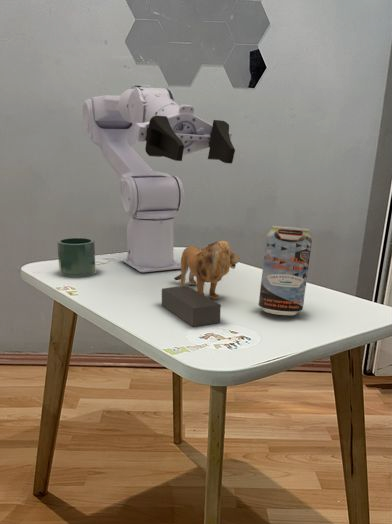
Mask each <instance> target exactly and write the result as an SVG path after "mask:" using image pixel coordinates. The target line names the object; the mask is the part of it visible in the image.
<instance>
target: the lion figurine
mask: <svg viewBox="0 0 392 524" xmlns="http://www.w3.org/2000/svg"><path fill="white" fill-rule="evenodd" d="M240 258H241V257H240V256H239V255H237V254H236V253H234V251H233V249H231V247H230V242H229V241H226V240H217V241H214V242H212V243H209V244H207V246H204V247H202V248H201V249H200V248H198V247H197V246H193V245H189V246H187V247H185V248H184V249H183V251H182V253H181V257H180V265H181V269H180V270H181V271H180V274H179V275H177V276H175V277H174V278H173V280H175V281H179V283H180V284H179V287H180V286H186V280H187V278H186V276H187V274H188V270H189V276H188V284H189V285H192V286H195V285H196V291H197V292H199V293H201V294H203V295H204V296H206V295H205V291H204V288H205V283H207V284H208V283H210V285H209V290H208V296H209V298H210V299H211V300H217V299H219V297H220V295H219V294H217V293H216V288H217V285H218V283H219V282H221V281H222V278H223V277H224V276H226V275H228V274H229V272H230V270H231V269H232V270H235V269H236V265H237V264H238V263H239V260H240ZM194 277H195V279H196V280H195V279H194Z"/></svg>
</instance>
